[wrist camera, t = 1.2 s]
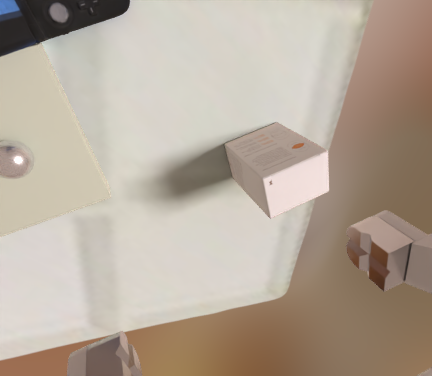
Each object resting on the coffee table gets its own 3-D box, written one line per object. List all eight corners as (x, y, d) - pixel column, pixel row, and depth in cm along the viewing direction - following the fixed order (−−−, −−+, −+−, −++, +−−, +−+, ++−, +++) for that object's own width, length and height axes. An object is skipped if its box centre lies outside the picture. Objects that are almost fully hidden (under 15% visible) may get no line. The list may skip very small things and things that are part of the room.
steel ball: (-16, 141, 27) (-28, 156, 24) (24, 129, 28) (17, 143, 25) (6, 174, 29) (-2, 191, 26) (44, 162, 30) (39, 178, 27)
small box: (231, 178, 42) (268, 220, 33) (222, 142, 39) (261, 179, 30) (282, 156, 43) (330, 192, 34) (277, 120, 40) (329, 150, 31)
